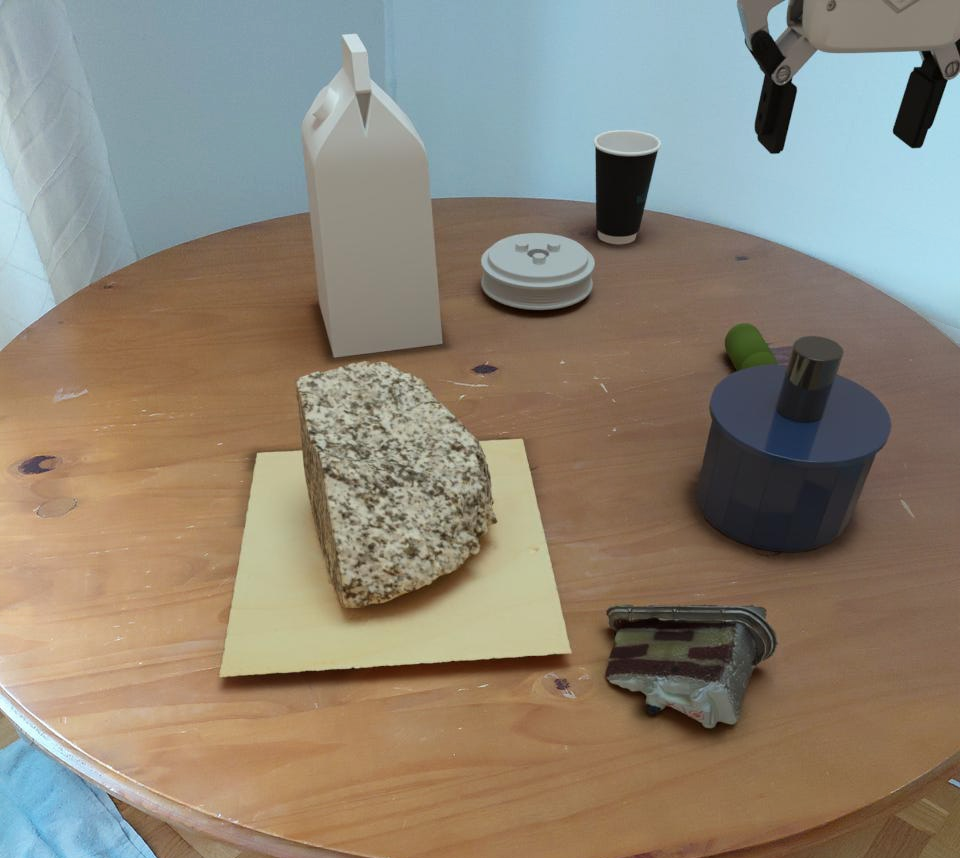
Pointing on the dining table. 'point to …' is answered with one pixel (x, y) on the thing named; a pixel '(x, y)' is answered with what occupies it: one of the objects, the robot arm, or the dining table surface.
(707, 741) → the dining table surface
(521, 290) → the lid
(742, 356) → the green rounded cylinder
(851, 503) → the pot
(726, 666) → the chocolate cake
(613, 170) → the dixie cup
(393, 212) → the milk
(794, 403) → the pot lid
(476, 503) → the rock
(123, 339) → the dining table surface
